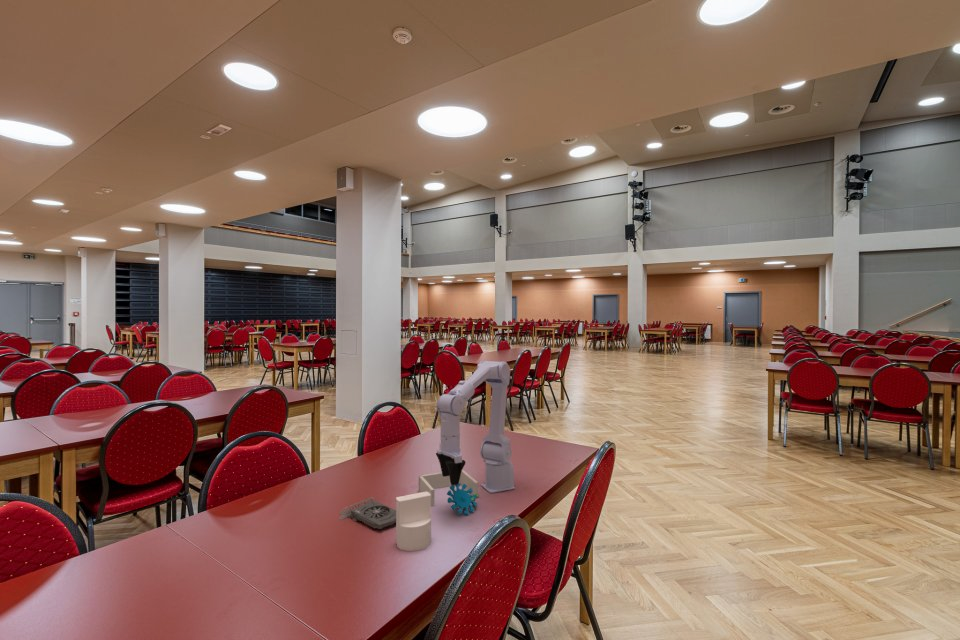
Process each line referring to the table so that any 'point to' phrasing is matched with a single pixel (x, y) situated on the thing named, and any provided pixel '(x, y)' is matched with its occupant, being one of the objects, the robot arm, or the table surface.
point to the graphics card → (371, 513)
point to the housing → (445, 483)
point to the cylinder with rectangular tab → (413, 521)
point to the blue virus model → (462, 499)
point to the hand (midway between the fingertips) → (450, 480)
